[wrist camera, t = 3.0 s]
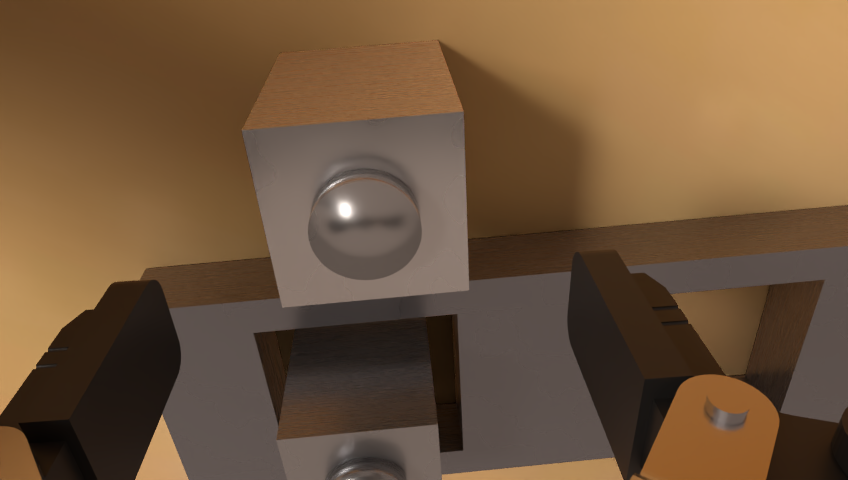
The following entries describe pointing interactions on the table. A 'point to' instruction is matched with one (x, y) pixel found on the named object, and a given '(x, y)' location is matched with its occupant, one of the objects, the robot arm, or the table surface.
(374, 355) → the knobbed grey cube
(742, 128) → the table surface
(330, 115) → the cube with silver knob
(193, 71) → the table surface
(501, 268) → the grey slotted board
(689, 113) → the table surface
